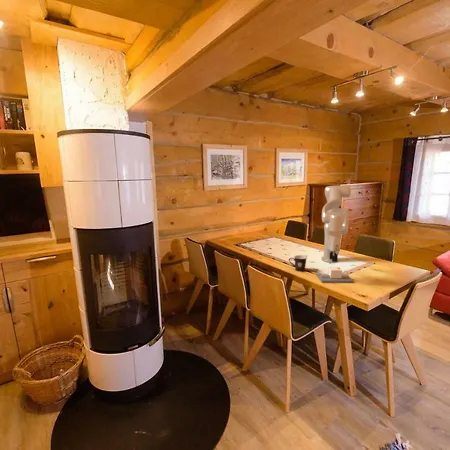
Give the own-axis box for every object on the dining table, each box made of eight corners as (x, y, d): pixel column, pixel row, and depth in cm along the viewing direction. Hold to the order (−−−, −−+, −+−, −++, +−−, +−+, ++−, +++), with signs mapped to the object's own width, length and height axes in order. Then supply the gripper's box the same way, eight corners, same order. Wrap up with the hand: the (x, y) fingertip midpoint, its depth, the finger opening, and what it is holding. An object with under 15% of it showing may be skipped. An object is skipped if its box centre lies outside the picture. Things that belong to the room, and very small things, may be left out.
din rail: (320, 276, 183) (320, 273, 183) (347, 276, 183) (347, 273, 182) (321, 277, 181) (321, 275, 181) (348, 277, 180) (349, 275, 180)
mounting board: (316, 275, 188) (316, 273, 188) (345, 275, 188) (346, 273, 187) (321, 282, 177) (321, 280, 176) (353, 282, 176) (353, 280, 175)
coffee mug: (308, 270, 199) (308, 256, 198) (302, 273, 194) (302, 259, 192) (294, 266, 208) (294, 253, 206) (288, 269, 202) (288, 256, 200)
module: (327, 274, 185) (328, 266, 184) (337, 274, 185) (338, 266, 183) (330, 278, 179) (331, 269, 178) (341, 278, 179) (342, 269, 178)
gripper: (325, 230, 185) (323, 256, 188) (333, 236, 168) (331, 264, 172) (336, 230, 184) (334, 256, 188) (346, 236, 168) (344, 264, 171)
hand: (333, 260), depth 180 cm, fingers open, 4 cm apart
